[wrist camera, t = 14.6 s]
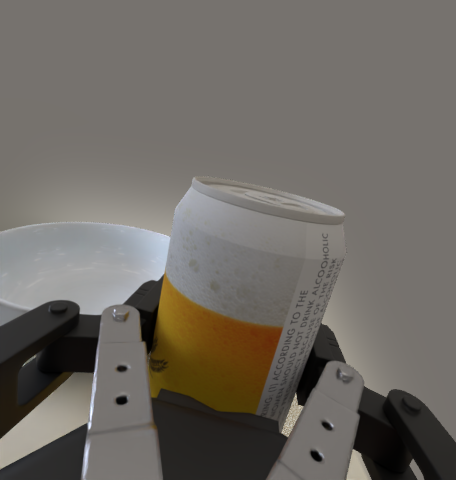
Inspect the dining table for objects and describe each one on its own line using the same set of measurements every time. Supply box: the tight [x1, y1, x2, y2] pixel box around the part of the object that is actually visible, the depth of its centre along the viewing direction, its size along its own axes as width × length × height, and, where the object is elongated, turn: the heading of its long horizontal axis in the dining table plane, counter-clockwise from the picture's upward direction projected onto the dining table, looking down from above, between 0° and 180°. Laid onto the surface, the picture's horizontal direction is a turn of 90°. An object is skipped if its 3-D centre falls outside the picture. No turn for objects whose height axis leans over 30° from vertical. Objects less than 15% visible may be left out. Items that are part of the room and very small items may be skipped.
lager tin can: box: [148, 176, 346, 433], centre depth 12 cm, size 6×6×15 cm
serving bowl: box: [0, 222, 170, 326], centre depth 29 cm, size 21×21×7 cm
